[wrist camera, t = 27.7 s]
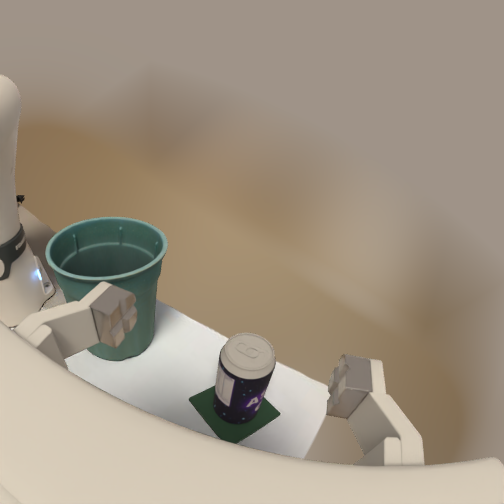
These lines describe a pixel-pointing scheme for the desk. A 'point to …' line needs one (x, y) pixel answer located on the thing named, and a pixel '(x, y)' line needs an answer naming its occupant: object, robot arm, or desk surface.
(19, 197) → the loader
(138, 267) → the flower pot
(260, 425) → the mat
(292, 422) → the desk surface
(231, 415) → the beverage can
